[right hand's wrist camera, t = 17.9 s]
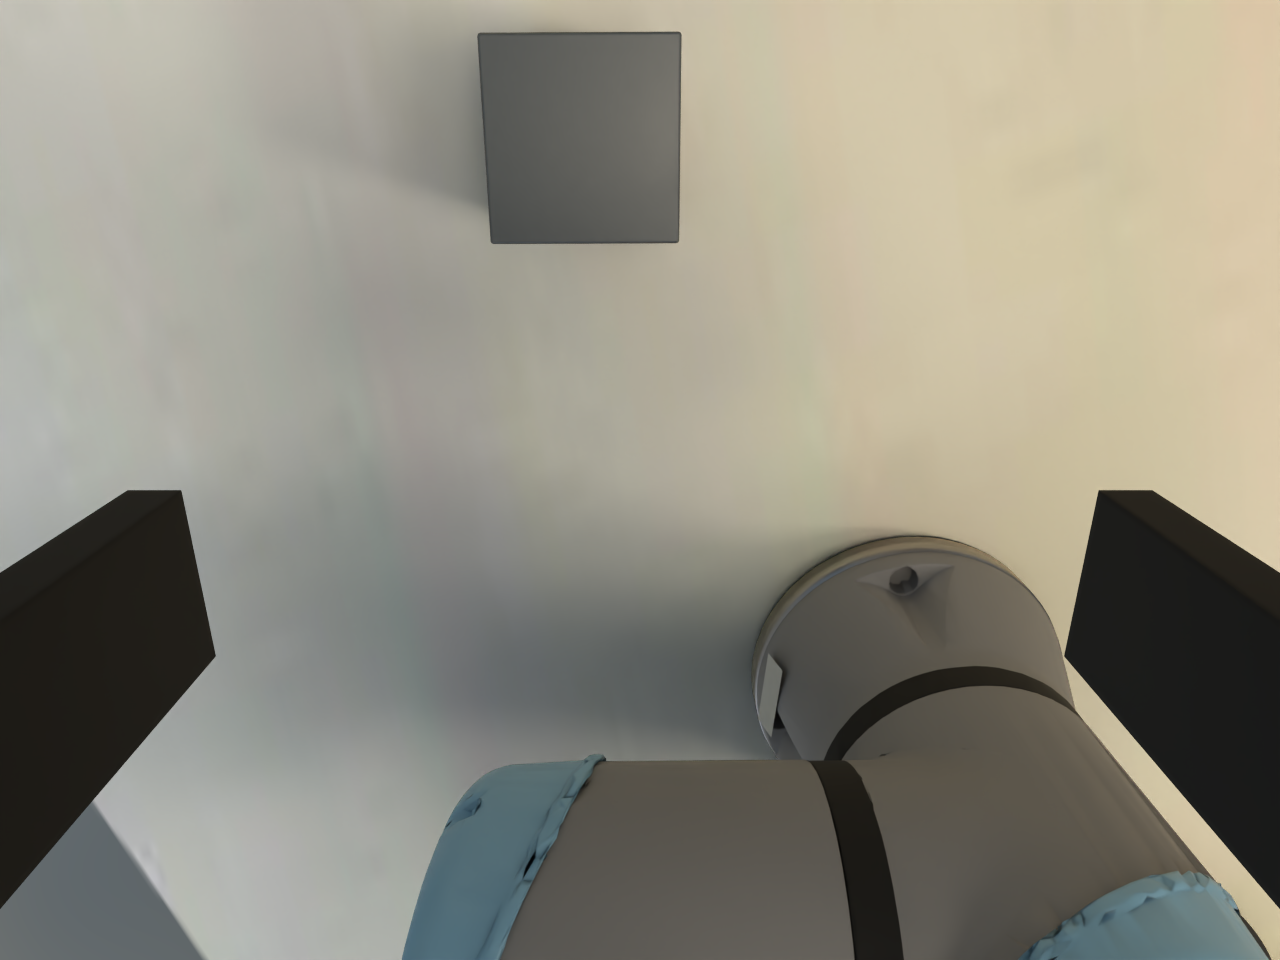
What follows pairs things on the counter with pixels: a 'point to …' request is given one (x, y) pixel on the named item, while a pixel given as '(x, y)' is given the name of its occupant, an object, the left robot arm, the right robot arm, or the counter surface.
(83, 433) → the counter surface
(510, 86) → the cap block
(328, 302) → the counter surface
